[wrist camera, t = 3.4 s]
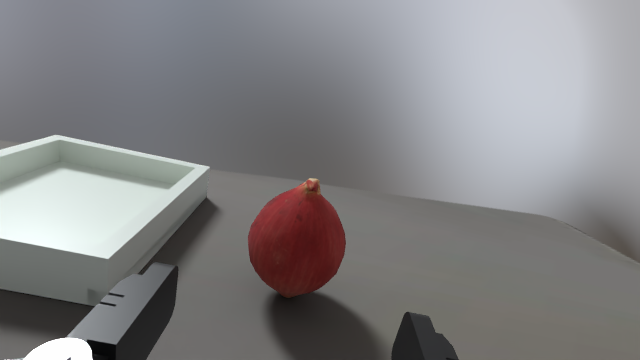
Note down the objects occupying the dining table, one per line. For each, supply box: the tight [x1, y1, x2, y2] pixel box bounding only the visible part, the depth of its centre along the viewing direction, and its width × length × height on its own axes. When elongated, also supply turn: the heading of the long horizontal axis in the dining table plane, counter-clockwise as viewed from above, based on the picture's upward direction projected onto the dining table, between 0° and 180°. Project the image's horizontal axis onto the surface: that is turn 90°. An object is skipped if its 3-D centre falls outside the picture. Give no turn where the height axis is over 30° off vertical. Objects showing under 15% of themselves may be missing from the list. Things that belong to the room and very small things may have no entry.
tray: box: [0, 135, 210, 306], centre depth 25 cm, size 14×16×3 cm
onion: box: [248, 178, 346, 298], centre depth 21 cm, size 6×6×8 cm
